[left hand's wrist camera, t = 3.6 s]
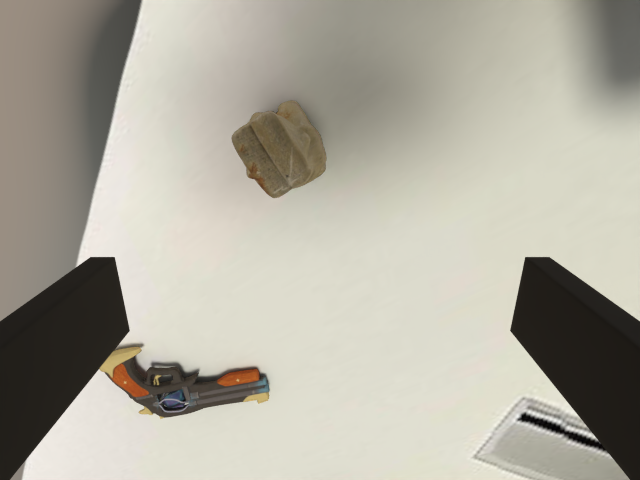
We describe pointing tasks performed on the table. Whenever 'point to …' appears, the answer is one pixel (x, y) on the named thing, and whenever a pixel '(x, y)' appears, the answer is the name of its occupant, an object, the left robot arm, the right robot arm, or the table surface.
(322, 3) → the table surface
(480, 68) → the table surface
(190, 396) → the toy gun
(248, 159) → the sculpture
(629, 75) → the table surface
